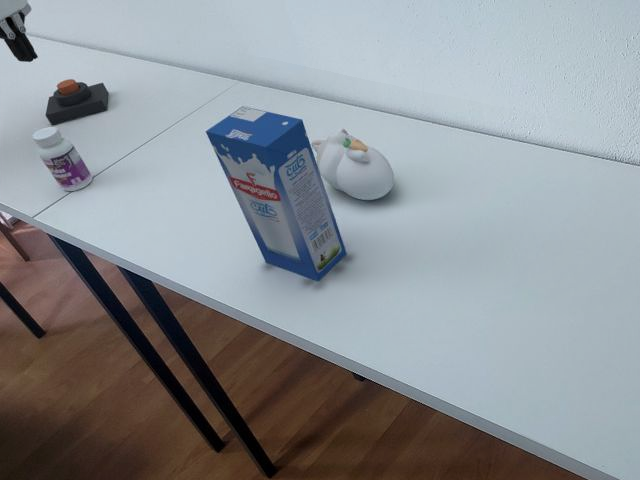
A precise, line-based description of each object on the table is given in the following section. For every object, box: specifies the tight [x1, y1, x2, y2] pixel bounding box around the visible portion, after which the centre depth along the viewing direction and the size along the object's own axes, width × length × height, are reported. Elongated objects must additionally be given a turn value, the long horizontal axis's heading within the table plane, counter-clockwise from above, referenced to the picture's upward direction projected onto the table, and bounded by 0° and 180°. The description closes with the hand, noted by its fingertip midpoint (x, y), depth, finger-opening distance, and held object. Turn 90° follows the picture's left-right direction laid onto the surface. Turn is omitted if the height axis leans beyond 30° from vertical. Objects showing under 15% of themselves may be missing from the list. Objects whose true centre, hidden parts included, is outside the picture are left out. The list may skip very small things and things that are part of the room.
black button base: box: [45, 81, 109, 126], centre depth 130 cm, size 11×9×4 cm
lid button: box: [56, 78, 80, 95], centre depth 128 cm, size 4×4×2 cm
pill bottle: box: [32, 126, 93, 192], centre depth 107 cm, size 5×5×10 cm
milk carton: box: [205, 105, 348, 282], centre depth 81 cm, size 10×6×20 cm, turn 58°
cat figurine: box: [310, 128, 395, 201], centre depth 96 cm, size 10×8×15 cm
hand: (28, 59), depth 110 cm, fingers closed
